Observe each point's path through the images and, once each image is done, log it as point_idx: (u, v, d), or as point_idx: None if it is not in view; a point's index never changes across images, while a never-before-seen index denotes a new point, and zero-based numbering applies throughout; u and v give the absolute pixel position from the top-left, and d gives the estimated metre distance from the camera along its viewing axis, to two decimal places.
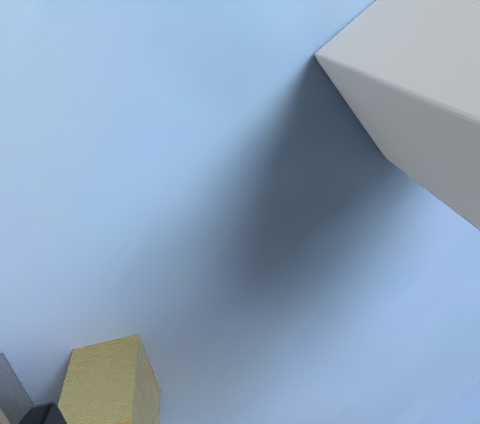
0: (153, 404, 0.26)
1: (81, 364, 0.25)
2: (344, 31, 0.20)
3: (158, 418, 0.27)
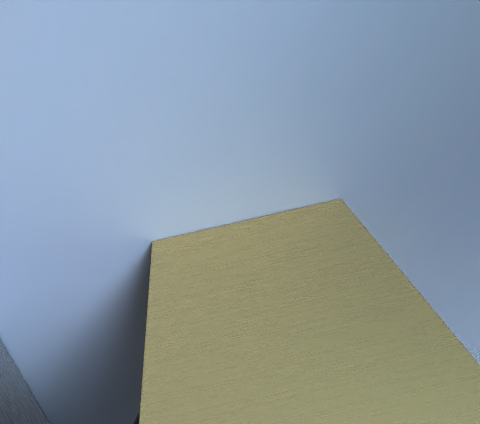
0: None
1: (192, 272, 0.08)
2: None
3: None
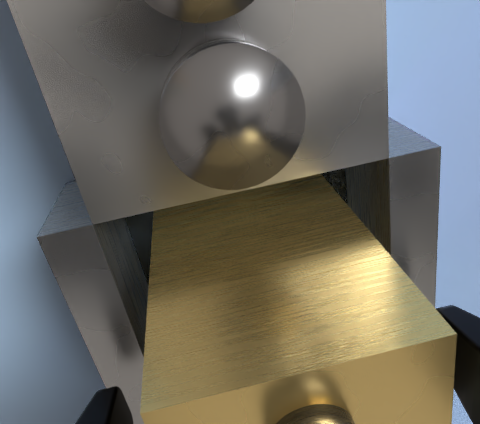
0: None
1: (187, 223, 0.09)
2: None
3: None
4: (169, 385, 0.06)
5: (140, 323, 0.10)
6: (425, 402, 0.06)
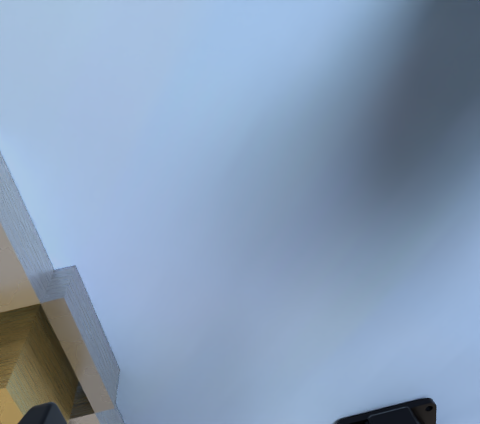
0: (64, 376, 0.21)
1: None
2: None
3: (72, 394, 0.21)
4: None
5: None
6: (8, 410, 0.16)
